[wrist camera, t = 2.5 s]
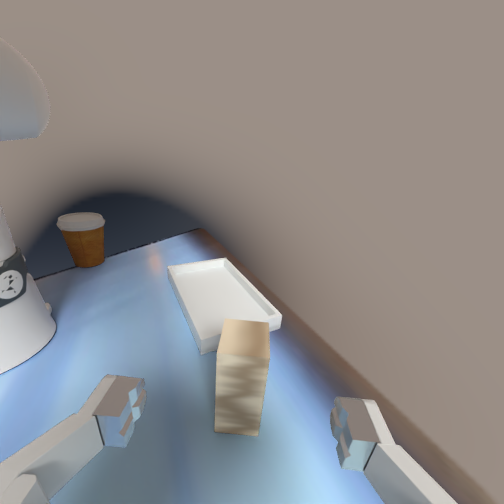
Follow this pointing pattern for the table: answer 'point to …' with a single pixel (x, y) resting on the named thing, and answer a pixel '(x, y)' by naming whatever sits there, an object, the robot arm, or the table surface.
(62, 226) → the disposable coffee cup
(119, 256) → the table surface
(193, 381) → the table surface
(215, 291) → the tray
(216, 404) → the ash block
